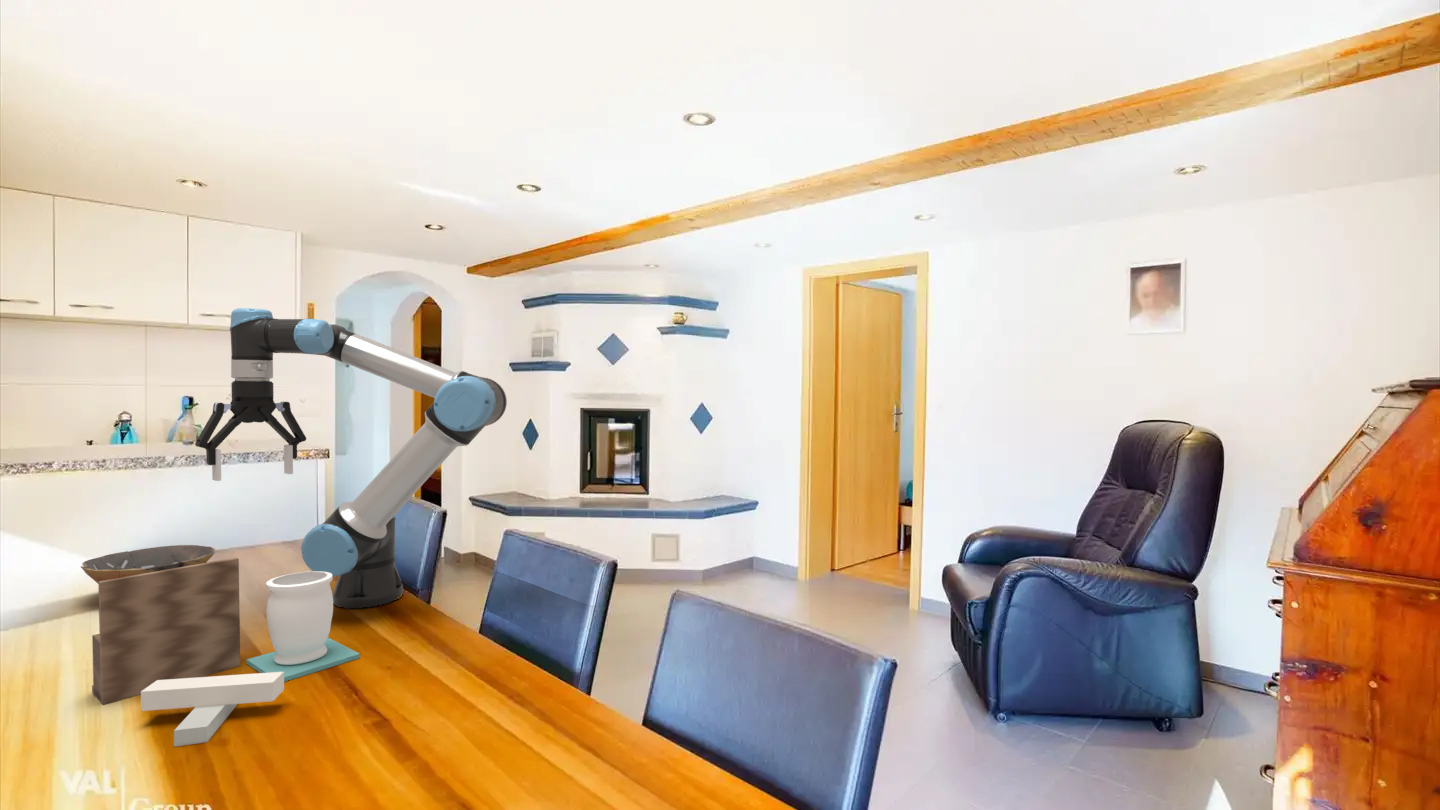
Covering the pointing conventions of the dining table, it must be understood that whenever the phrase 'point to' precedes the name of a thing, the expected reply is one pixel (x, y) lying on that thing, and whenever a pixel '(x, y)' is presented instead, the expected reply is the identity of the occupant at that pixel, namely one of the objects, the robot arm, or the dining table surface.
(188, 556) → the bowl
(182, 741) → the offcut low
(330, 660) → the mat
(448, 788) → the dining table surface
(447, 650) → the dining table surface
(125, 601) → the wood grain panel
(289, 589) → the jar
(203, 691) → the offcut top
